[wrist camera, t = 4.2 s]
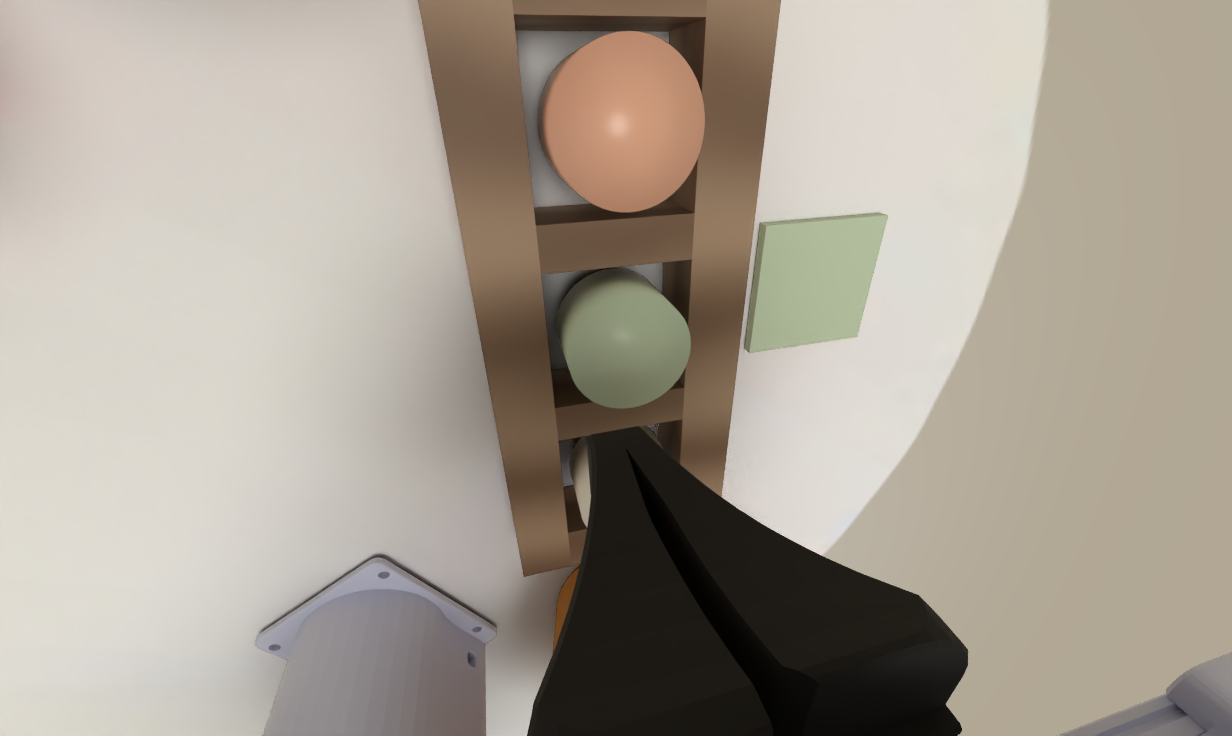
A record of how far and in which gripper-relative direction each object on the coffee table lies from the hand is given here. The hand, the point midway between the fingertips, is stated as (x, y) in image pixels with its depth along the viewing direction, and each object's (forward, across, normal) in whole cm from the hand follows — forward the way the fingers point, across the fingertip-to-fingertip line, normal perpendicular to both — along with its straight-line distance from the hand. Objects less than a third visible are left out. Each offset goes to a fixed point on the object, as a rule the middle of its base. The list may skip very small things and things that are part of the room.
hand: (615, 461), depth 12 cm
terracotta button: (+8, -2, -7) cm, 11 cm away
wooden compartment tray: (+10, -2, 0) cm, 10 cm away
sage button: (+8, -2, 0) cm, 8 cm away
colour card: (+10, -12, 0) cm, 15 cm away
